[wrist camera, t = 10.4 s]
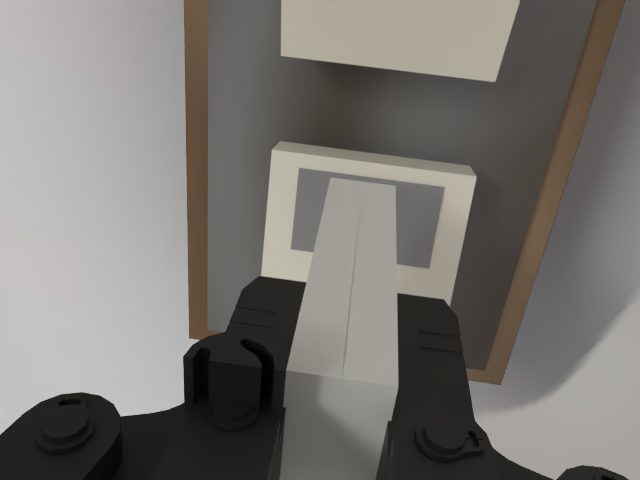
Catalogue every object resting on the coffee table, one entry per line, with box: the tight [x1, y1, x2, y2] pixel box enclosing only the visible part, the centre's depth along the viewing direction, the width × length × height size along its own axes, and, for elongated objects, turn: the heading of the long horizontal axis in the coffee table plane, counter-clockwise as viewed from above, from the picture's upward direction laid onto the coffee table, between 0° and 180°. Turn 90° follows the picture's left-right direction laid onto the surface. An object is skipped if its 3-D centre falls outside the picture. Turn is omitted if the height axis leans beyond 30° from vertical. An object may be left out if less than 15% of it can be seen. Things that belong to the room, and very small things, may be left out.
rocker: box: [261, 141, 477, 307], centre depth 18 cm, size 6×8×1 cm
